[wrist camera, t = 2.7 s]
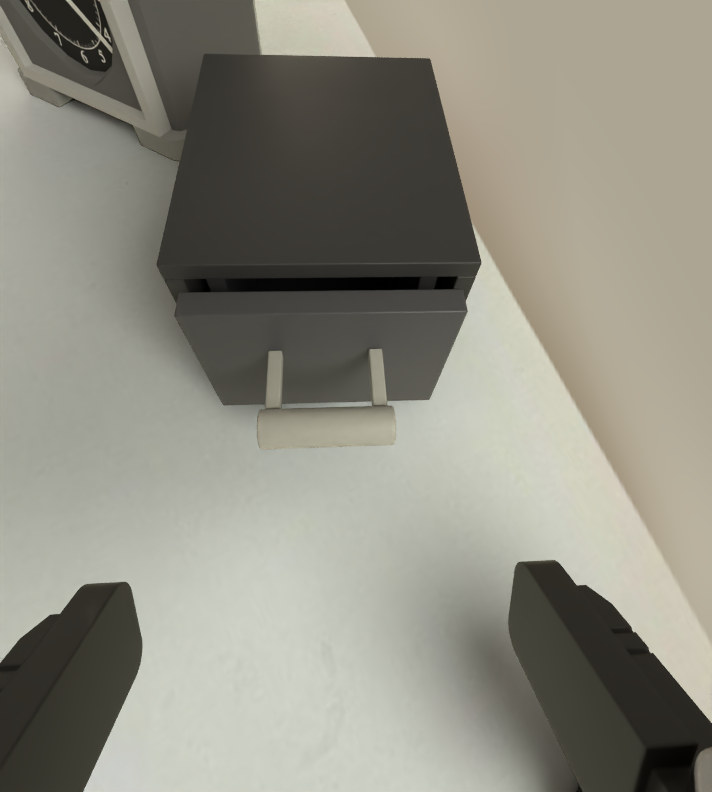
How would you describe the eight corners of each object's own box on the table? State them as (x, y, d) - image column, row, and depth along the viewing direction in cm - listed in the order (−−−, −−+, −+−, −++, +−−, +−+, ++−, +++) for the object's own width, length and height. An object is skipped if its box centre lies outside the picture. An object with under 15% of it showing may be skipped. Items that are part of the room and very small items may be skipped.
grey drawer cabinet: (432, 381, 25) (482, 262, 17) (219, 386, 24) (155, 265, 16) (405, 204, 32) (430, 57, 24) (239, 204, 32) (203, 53, 23)
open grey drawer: (441, 476, 21) (490, 412, 15) (214, 485, 21) (153, 421, 14) (403, 220, 30) (423, 103, 23) (242, 220, 29) (213, 99, 23)
